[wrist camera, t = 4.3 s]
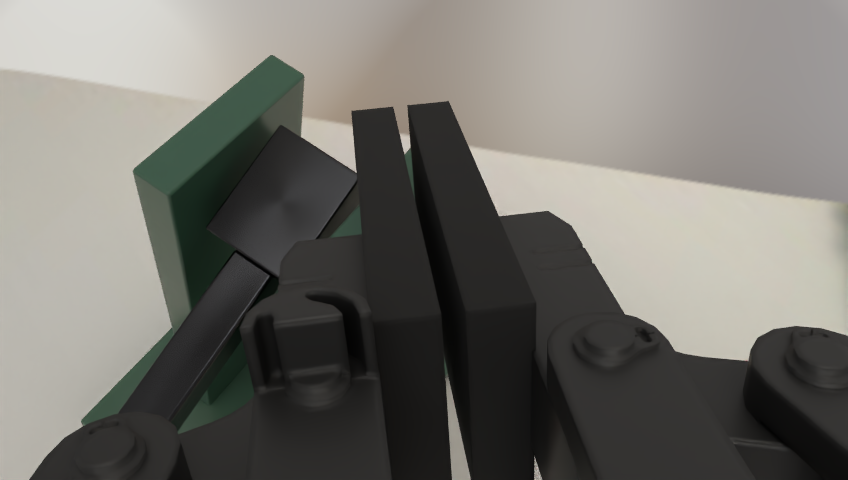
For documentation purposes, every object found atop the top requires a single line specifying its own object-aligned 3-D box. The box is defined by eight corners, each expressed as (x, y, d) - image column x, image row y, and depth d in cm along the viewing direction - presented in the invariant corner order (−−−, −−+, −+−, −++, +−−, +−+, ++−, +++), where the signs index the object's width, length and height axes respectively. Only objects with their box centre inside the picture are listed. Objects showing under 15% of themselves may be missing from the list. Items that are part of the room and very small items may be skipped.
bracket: (298, 594, 24) (328, 495, 12) (86, 432, 25) (-65, 205, 14) (457, 361, 29) (583, 136, 18) (274, 237, 31) (279, -45, 19)
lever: (53, 729, 17) (-56, 819, 14) (-60, 631, 18) (-194, 694, 14) (401, 222, 19) (385, 185, 15) (288, 148, 19) (246, 96, 16)
